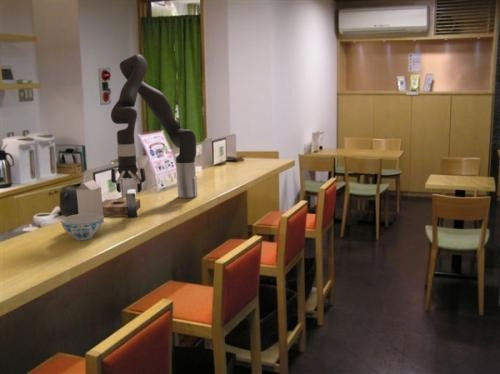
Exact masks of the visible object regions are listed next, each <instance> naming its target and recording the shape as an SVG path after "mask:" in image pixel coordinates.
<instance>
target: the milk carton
mask: <svg viewBox="0 0 500 374" xmlns="http://www.w3.org/2000/svg"><path fill="white" fill-rule="evenodd" d="M75 191H76V199H77V200H76V201H77V212H78V214H88V213H92V214H100V215H102V223H101V224H103V223H105V220H104V219H105V218H104V217H105V216H103V205H102V202H103V198H102V197H103V196H102V187H101V186H100V184H98V183H97V182H96V181H95V180H94V176H93V177H90V178H86V179H83V180H82V182H81V183H80V186H78V188H77V189H76V190H75Z"/></svg>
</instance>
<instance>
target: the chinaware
mask: <svg viewBox="0 0 500 374" xmlns="http://www.w3.org/2000/svg"><path fill="white" fill-rule="evenodd" d="M60 223H61V226H62V228H63V229H64V231H65V232H66V233H67V234H68V235H69V236H71V237H73V238H74V240H75V241H88V240H91V239H92V238H93V236H94V235H95V234H96V233H97V232H98V231H99V230H100V228H101V226H102V224H103V223H102V215H100V214H92V213H88V214H79V213H77V214H72V215H69V216H65V217H62V219H60ZM87 239H88V240H87Z"/></svg>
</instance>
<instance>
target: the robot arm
mask: <svg viewBox="0 0 500 374" xmlns="http://www.w3.org/2000/svg"><path fill="white" fill-rule="evenodd" d="M119 69H120V72H121V74H122V75H123V76H124V78H125V79H126V82H125V83H124V85H123V86H122V88H121V89H120V90H121V91H120V93H119V97H118V99H117V102H116V103H115V105H114V106H113V108H112V109H111V111H110V118H111V121H112V122H113V123H114V124H117V125H127V127H126V128H123V129H120V130H118V131H117V132H116V141H117V149H116V150H117V152H116V154H117V161H118V162H117V163H118V164H117V165H118V168H116V167H112V168H111V169H110V171H111V172H110V175H111V176H110V179H111V180H110V181H111V183H114V184H115V186H116V191H117V193H118V194H119V193H121V192H122V187H121V186H122V185H121V184H122V183H121V181H122V180H123V179H124V180H125V179H133V180H134V181H135V182H136V183H137V184H136V186H137V193H140V192H141V191H142V189H143V186H142V185H143V184H142V183H144V182H146V173H145V167H139V168H138V167H137V155H136V154H137V151H136V143H135V127H136V122H137V120H138V119H137V118H138V112H137V110H136V108H135V106H136V102H137V96H138V95H140V97H141V99H142V100H143V102H144V103H145V104H146V106H147V107H148V108H149V109H150V112H151V113H152V114H153V116H155V118H156V119H157V121H158V122H159V123H160V125H161V126H162V127H163V129H164V130H165V132H166V134H167V136H168V137H169V140H170V141H171V142H172V144H173V145H174V146H175V147H177V148H179V151H178V152H179V153H178V155H177V156H176V157H175V168H176V184H177V185H176V186H177V197H178V198H181V199H191V198H197V196H198V195H199V194H198V181H197V179H198V178H197V175H196V162H195V161H196V156H197V140H196V135H195V134H196V133H194V131H193V130H191V129H185V128H182V126H181V125H180V124H179V123H178V121H177V120H176V118H175V116H174V111H173V108H172V105H171V103H170V101H169V100H168V98H167V96H165V94H164V93H163V92H161V90H158V89H157V88H154V87H153V86H151V85H148V83H146V82H144V78H145V76H146V74H147V71H148V62H147V60H146V59H145V57H144V56H143V55H142V54H138V53H136V54H134V55H132V56H130V57H127V58H125V59H123V60H122V61H121V62H120V63H119ZM138 172H139V174H140V177H139V175H138V174H137V173H138ZM117 173H118V174H119V176H118V177H117V176H116V174H117ZM116 177H117V178H116Z"/></svg>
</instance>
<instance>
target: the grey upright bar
mask: <svg viewBox="0 0 500 374" xmlns="http://www.w3.org/2000/svg"><path fill="white" fill-rule="evenodd" d="M125 199H126V204H127V216H126V217H127V218H128V219H133V218H137V217H138V213H137V211H138V210H136V199H137V198H136V193H134V192H129V193H126V194H125Z"/></svg>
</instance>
